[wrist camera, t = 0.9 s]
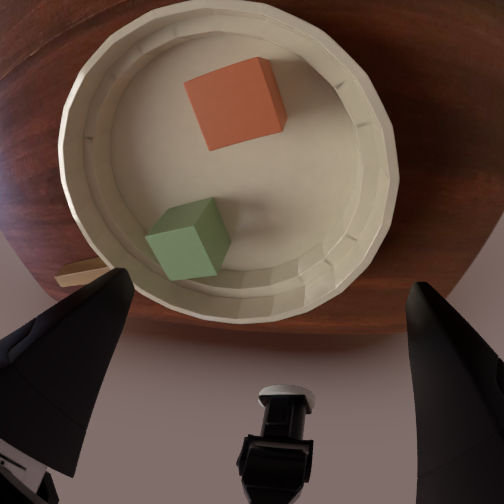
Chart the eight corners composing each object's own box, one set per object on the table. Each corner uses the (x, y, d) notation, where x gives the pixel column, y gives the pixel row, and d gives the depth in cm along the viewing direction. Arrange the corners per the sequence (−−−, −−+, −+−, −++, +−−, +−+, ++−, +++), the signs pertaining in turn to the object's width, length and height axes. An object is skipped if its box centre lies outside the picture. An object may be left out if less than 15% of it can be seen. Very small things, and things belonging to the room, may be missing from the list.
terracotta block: (288, 118, 16) (283, 132, 13) (227, 134, 17) (208, 152, 14) (268, 59, 14) (258, 56, 11) (207, 78, 15) (182, 83, 12)
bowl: (388, 261, 21) (400, 306, 18) (165, 290, 28) (145, 327, 24) (330, -19, 10) (338, -47, 6) (67, 94, 17) (23, 109, 13)
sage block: (231, 241, 22) (218, 275, 19) (188, 249, 24) (170, 281, 20) (213, 196, 20) (194, 225, 17) (168, 208, 22) (144, 236, 18)
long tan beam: (137, 262, 27) (126, 278, 25) (71, 274, 30) (61, 287, 29) (129, 249, 26) (117, 265, 24) (64, 264, 30) (53, 277, 28)
